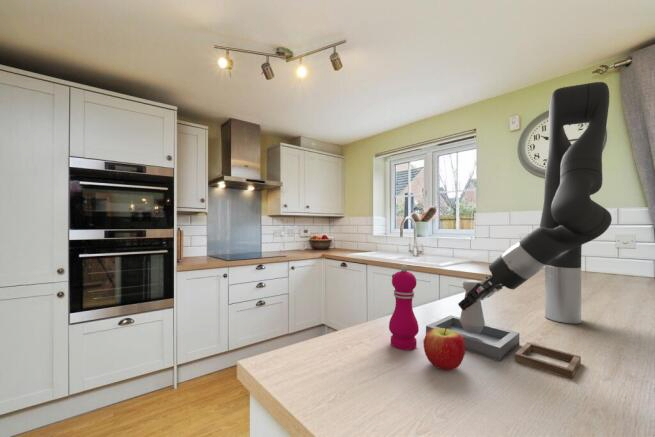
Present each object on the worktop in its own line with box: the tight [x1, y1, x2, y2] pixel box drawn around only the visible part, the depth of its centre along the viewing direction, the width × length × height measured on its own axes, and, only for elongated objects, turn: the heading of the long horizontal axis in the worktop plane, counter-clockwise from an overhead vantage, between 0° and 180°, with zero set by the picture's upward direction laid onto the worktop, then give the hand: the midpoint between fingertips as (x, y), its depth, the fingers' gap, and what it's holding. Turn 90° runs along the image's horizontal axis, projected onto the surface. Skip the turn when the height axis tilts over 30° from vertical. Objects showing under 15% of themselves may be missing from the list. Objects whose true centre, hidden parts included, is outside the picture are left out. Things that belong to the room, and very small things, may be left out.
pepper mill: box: [388, 264, 420, 351], centre depth 73 cm, size 7×7×20 cm
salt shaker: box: [459, 279, 486, 334], centre depth 76 cm, size 6×6×13 cm
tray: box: [425, 315, 520, 362], centre depth 76 cm, size 14×18×3 cm
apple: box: [423, 322, 466, 371], centre depth 62 cm, size 8×8×10 cm
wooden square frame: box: [514, 341, 582, 379], centre depth 65 cm, size 10×10×2 cm
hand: (464, 305), depth 78 cm, fingers closed on salt shaker, 3 cm apart
